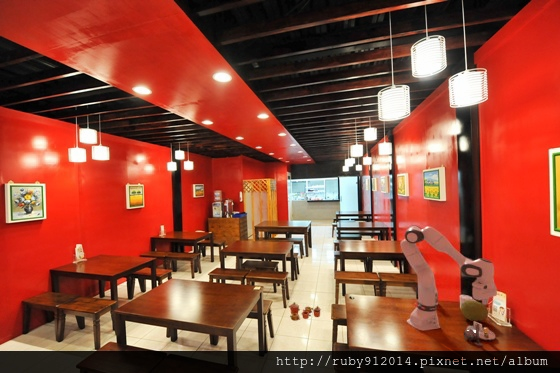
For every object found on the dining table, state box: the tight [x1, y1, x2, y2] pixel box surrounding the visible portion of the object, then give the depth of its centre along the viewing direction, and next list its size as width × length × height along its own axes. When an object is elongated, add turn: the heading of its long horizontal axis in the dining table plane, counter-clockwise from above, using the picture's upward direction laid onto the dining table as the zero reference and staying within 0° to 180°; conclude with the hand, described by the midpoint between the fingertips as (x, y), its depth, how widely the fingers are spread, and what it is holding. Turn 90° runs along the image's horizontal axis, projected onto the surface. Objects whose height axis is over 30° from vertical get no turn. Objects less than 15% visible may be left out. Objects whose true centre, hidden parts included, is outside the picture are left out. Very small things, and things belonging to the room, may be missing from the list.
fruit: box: [460, 300, 489, 322], centre depth 186 cm, size 16×14×15 cm
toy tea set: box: [288, 301, 322, 322], centre depth 202 cm, size 26×16×10 cm, turn 101°
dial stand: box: [473, 321, 483, 347], centre depth 159 cm, size 4×4×13 cm
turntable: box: [466, 325, 496, 341], centre depth 168 cm, size 15×15×7 cm
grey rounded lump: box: [463, 328, 476, 342], centre depth 164 cm, size 6×6×5 cm
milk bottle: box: [435, 285, 439, 306], centre depth 214 cm, size 8×8×20 cm
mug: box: [459, 294, 477, 309], centre depth 202 cm, size 12×8×10 cm
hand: (484, 304), depth 166 cm, fingers closed
